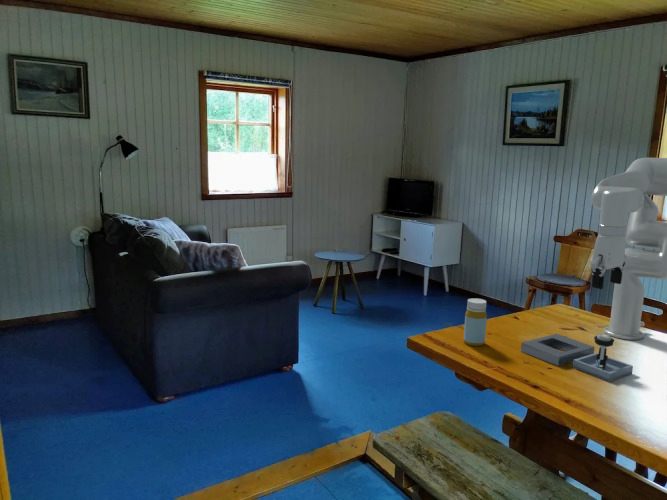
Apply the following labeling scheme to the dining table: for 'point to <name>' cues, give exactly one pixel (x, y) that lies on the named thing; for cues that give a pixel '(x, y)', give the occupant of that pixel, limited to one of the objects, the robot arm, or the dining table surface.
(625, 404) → the dining table surface
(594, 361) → the tray
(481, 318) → the bottle
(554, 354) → the block
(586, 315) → the dining table surface
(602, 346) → the push button
